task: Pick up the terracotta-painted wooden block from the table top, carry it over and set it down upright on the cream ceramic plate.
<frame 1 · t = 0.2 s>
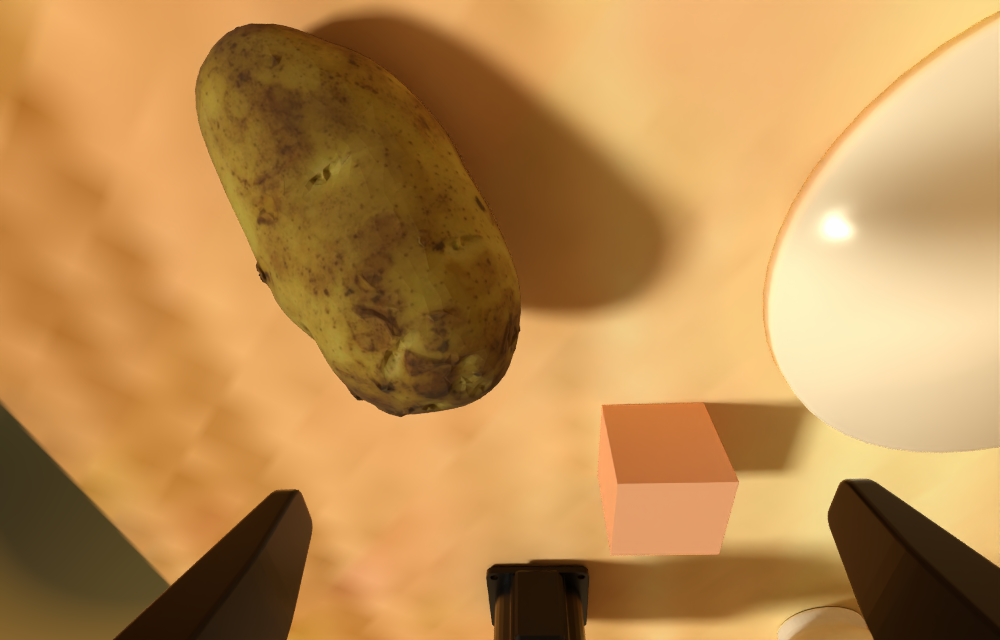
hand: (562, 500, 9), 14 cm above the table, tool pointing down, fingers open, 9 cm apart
teacup: (819, 635, 37), on the table
potato: (397, 186, 21), on the table
block: (647, 438, 27), on the table
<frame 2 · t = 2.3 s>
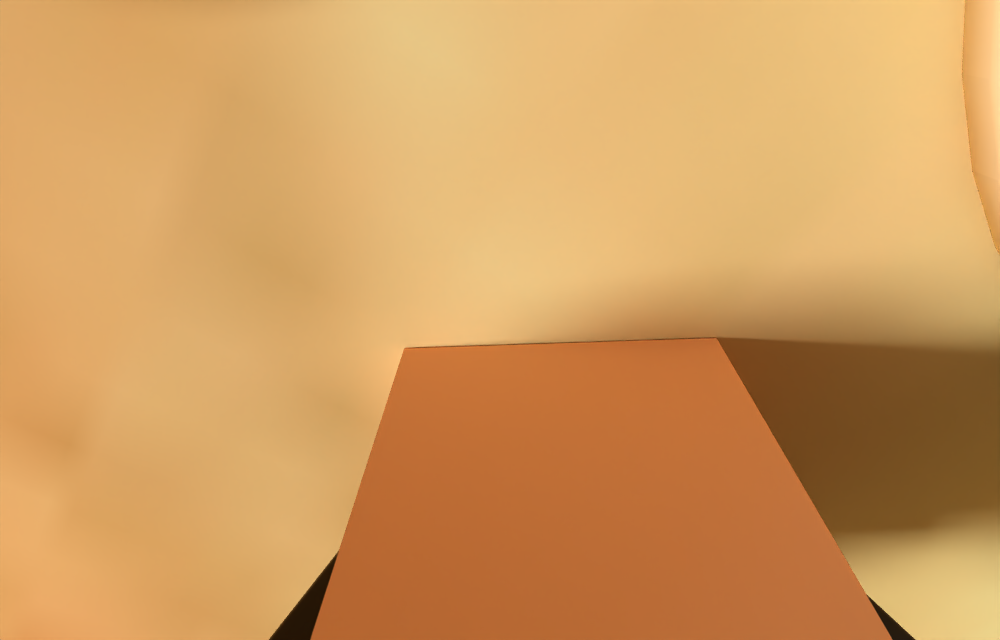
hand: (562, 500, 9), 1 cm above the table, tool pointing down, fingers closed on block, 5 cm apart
block: (558, 454, 10), on the table, touching gripper
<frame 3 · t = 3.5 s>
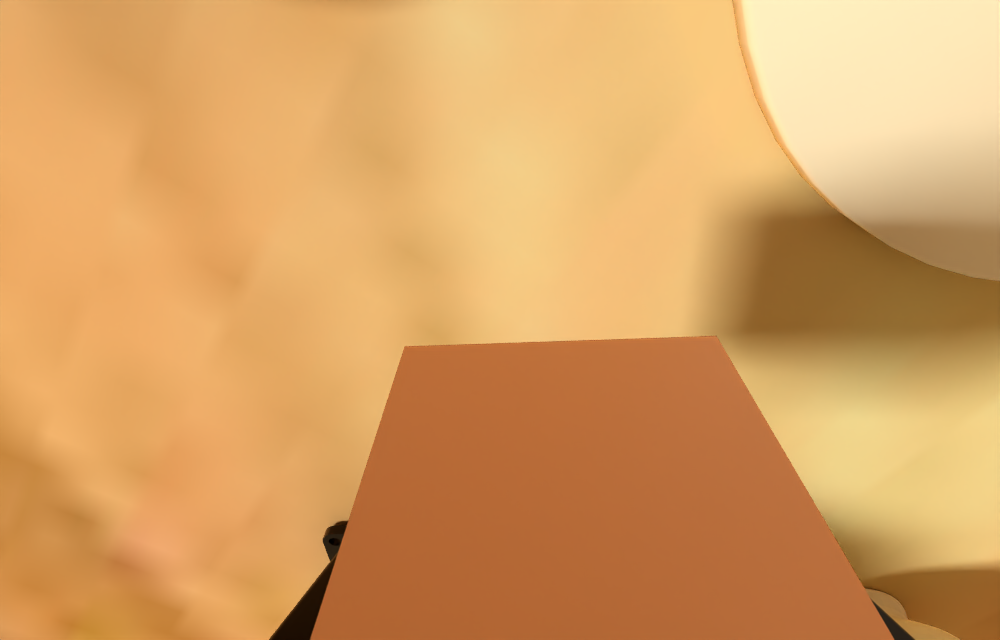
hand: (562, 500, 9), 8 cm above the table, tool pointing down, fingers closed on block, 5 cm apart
teacup: (835, 633, 26), on the table
block: (558, 452, 10), point 7 cm above the table, touching gripper
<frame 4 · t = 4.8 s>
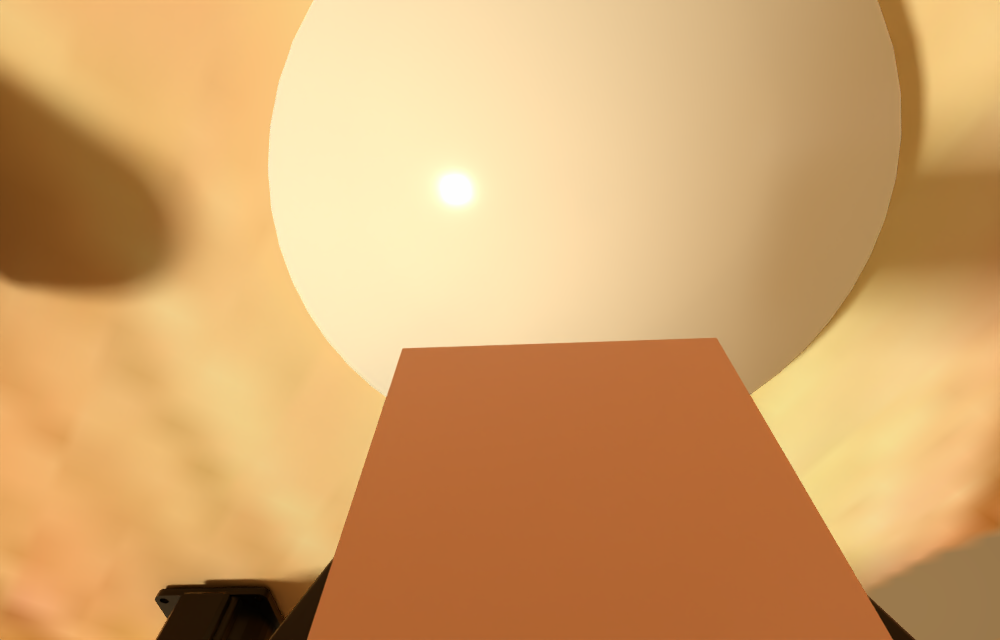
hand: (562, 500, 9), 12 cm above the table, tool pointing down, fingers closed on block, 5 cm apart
plate: (571, 220, 18), on the table
block: (557, 454, 10), point 11 cm above the table, touching gripper
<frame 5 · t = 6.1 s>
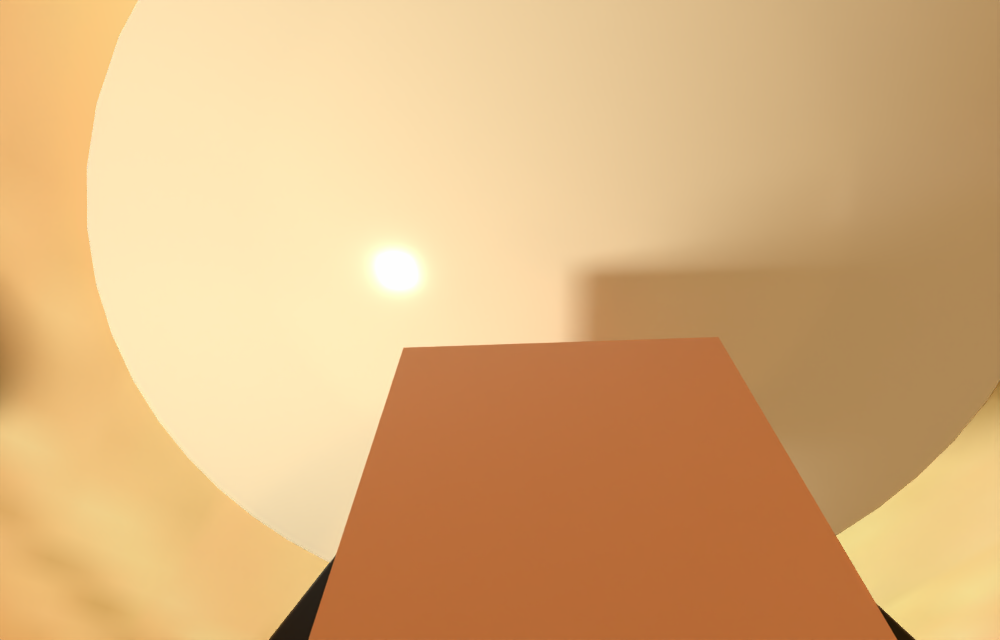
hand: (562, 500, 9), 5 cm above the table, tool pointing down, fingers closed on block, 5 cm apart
plate: (551, 338, 13), on the table
block: (558, 454, 10), point 4 cm above the table, touching gripper
when the fingers open (3 cm above the table, at t = 7.2 s): block drops 1 cm, resting on plate.
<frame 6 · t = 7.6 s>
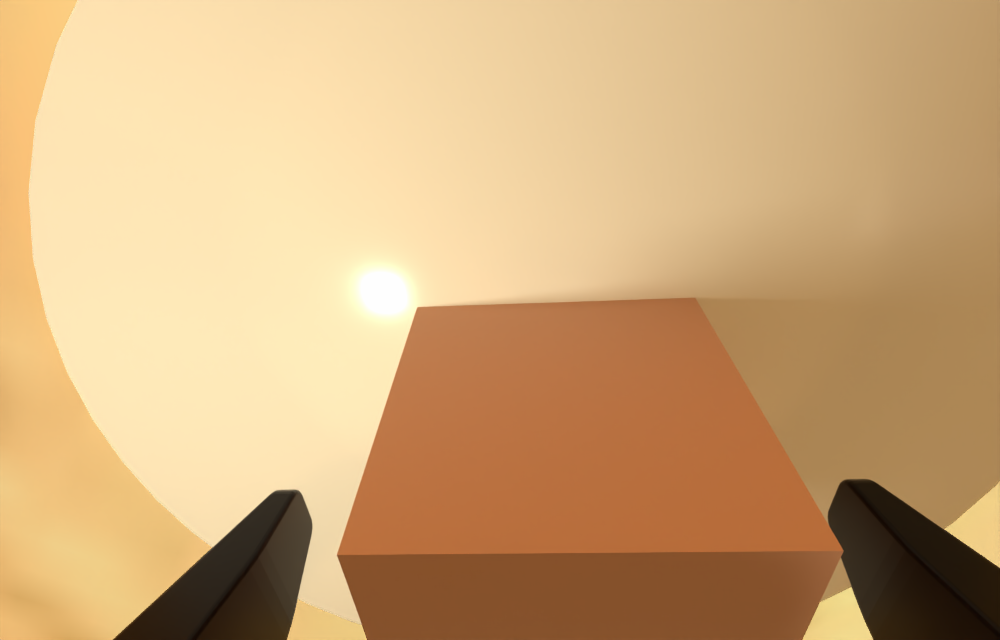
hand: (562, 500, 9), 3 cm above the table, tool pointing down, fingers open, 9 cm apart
plate: (552, 372, 12), on the table
block: (554, 407, 11), point 1 cm above the table, touching plate
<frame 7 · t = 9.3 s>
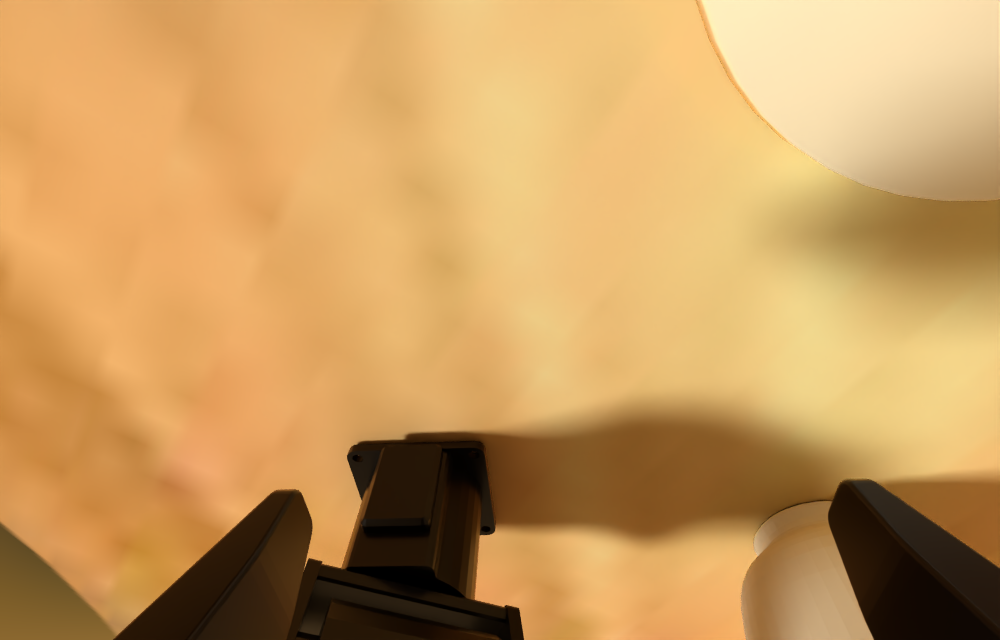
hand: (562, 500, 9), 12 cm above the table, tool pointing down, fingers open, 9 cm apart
teacup: (810, 547, 28), on the table
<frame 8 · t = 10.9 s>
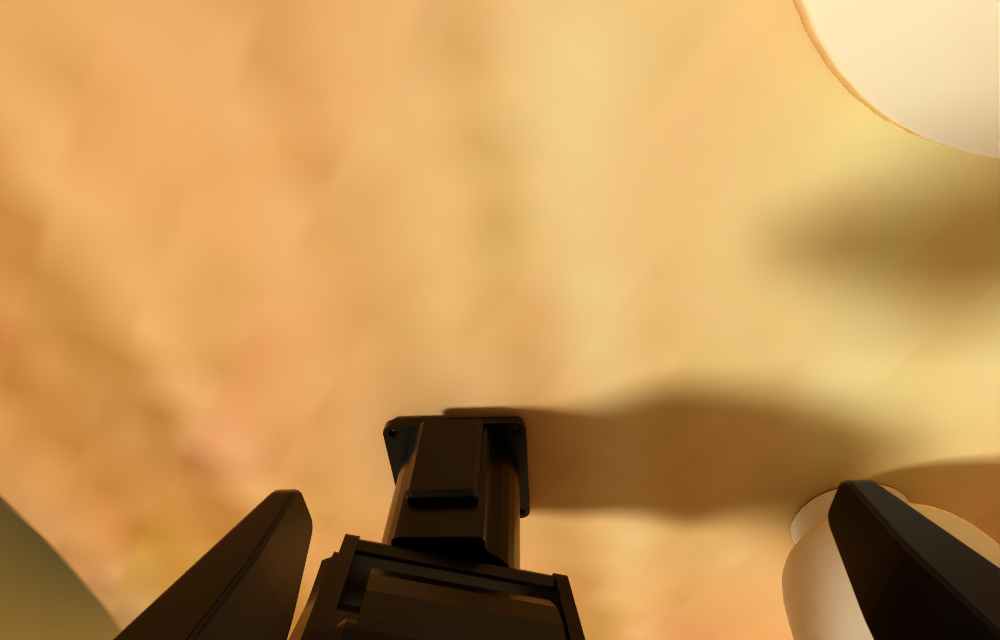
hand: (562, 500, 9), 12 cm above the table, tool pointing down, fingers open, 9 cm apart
teacup: (846, 534, 28), on the table
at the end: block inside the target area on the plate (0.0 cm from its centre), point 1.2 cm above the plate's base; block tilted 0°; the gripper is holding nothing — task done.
